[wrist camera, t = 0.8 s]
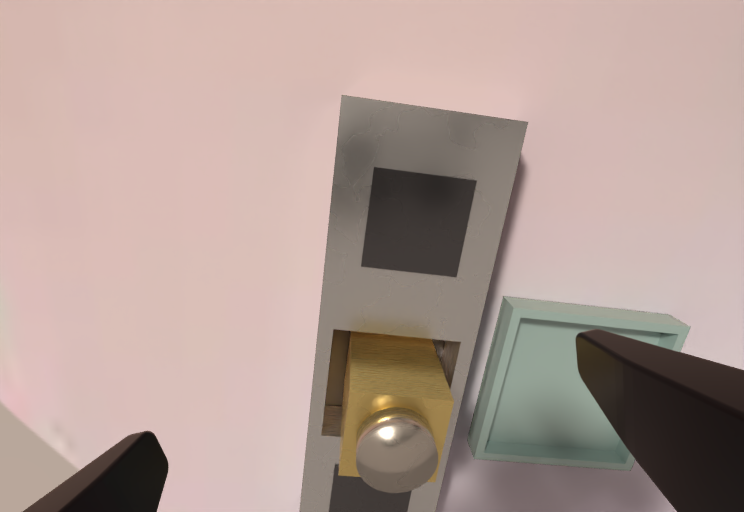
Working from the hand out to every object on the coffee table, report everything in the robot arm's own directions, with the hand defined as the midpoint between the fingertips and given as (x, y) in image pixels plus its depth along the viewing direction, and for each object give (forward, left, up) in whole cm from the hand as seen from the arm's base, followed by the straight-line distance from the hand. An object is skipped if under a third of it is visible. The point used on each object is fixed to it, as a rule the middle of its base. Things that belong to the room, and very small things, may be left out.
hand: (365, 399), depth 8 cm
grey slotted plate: (-2, +5, -13) cm, 14 cm away
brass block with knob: (-2, +7, -13) cm, 15 cm away
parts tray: (-13, +7, -13) cm, 20 cm away
